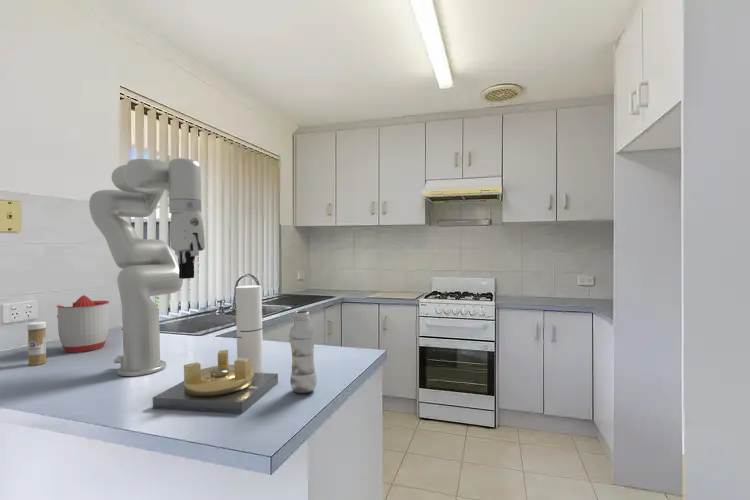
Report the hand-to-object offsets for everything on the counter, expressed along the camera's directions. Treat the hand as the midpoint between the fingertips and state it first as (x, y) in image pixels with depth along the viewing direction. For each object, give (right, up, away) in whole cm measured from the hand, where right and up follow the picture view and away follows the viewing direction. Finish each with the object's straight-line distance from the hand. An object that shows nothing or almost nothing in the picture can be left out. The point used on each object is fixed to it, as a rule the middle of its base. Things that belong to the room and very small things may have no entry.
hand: (186, 278), depth 101 cm
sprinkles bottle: (-60, -30, +25) cm, 72 cm away
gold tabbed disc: (+11, -26, -5) cm, 28 cm away
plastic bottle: (+31, -28, -4) cm, 42 cm away
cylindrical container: (+13, -29, +13) cm, 34 cm away
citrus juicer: (-59, -30, +43) cm, 79 cm away
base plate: (+11, -29, -5) cm, 31 cm away
